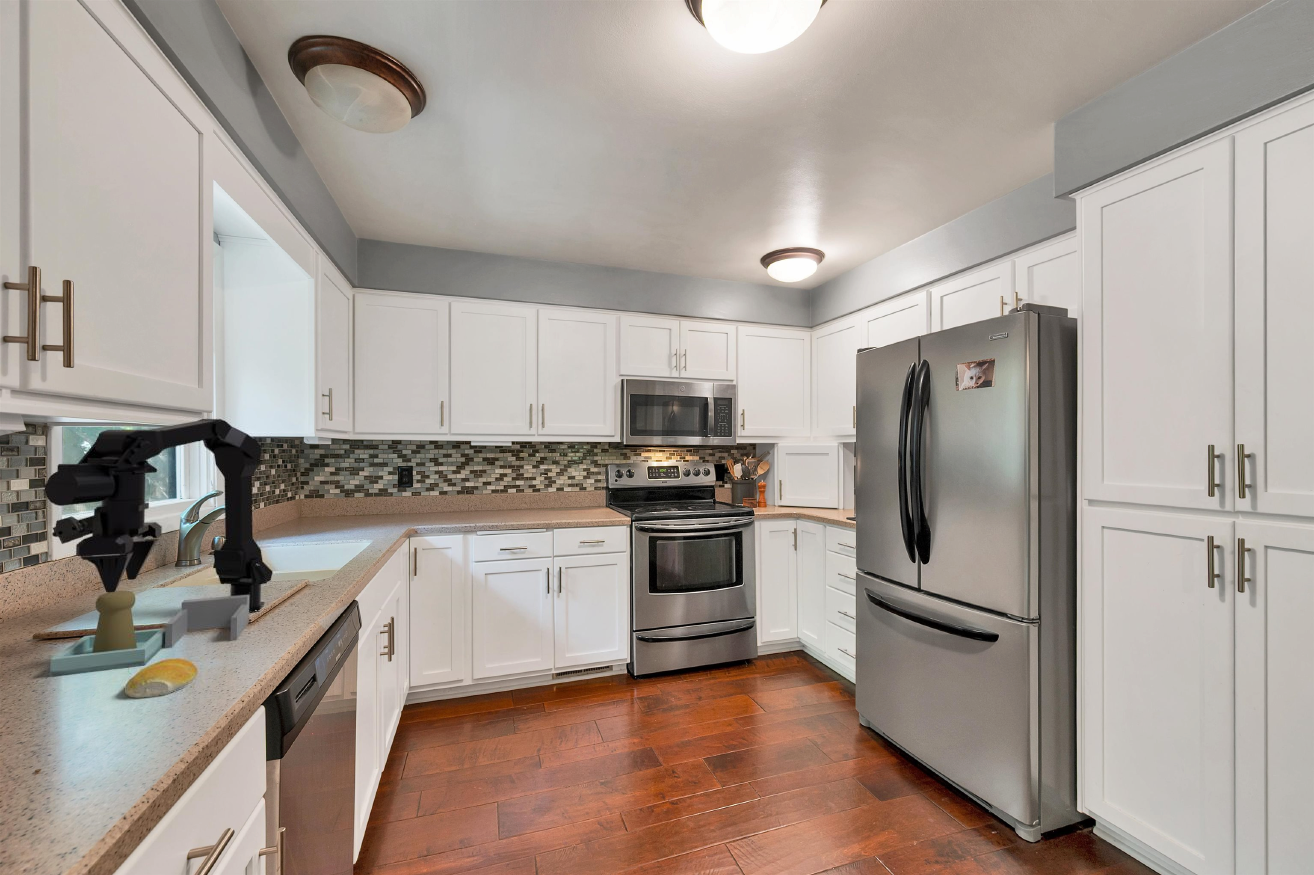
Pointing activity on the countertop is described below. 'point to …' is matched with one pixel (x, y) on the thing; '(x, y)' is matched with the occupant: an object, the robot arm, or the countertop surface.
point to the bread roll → (161, 678)
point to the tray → (107, 654)
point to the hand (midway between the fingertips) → (121, 585)
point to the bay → (209, 617)
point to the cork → (115, 622)
